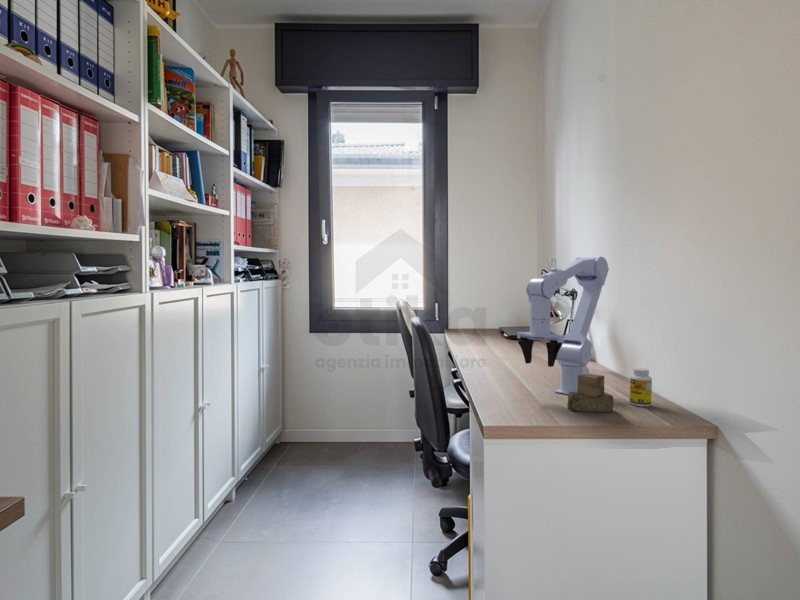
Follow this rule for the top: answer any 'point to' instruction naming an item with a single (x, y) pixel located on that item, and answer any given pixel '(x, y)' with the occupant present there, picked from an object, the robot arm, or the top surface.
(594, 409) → the stone block
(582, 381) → the walnut cube
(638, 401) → the supplement bottle
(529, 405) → the top surface
